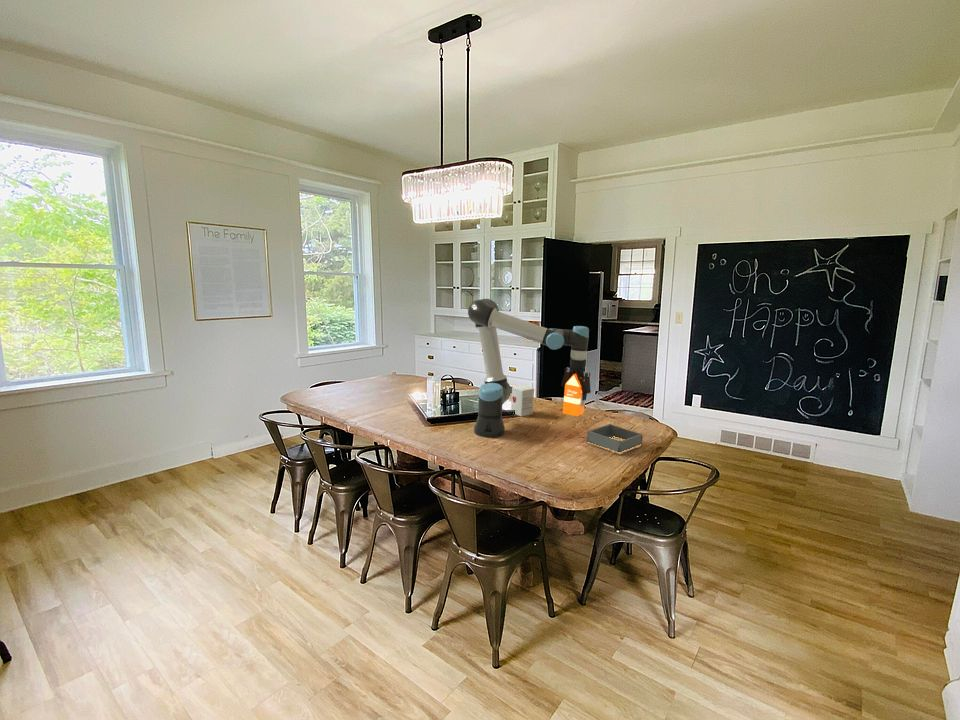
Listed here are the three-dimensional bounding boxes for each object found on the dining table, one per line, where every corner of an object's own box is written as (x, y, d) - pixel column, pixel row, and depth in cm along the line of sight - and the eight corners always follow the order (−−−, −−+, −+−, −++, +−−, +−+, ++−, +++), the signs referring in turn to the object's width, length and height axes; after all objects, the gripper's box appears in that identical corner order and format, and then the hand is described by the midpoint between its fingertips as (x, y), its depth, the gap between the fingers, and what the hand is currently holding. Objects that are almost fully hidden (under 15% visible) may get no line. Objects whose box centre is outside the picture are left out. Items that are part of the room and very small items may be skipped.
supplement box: (510, 412, 255) (511, 386, 252) (522, 410, 260) (523, 384, 257) (521, 416, 248) (522, 390, 245) (533, 414, 253) (534, 388, 250)
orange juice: (584, 412, 224) (588, 372, 220) (577, 416, 216) (581, 375, 213) (569, 409, 228) (573, 370, 224) (562, 413, 221) (565, 373, 217)
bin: (619, 455, 199) (620, 442, 197) (586, 443, 212) (587, 430, 211) (641, 446, 210) (642, 434, 208) (609, 435, 223) (610, 424, 222)
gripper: (601, 362, 211) (597, 408, 216) (566, 354, 227) (562, 397, 232) (591, 363, 207) (587, 410, 211) (556, 355, 223) (552, 399, 227)
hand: (574, 403), depth 221 cm, fingers closed on orange juice, 9 cm apart
